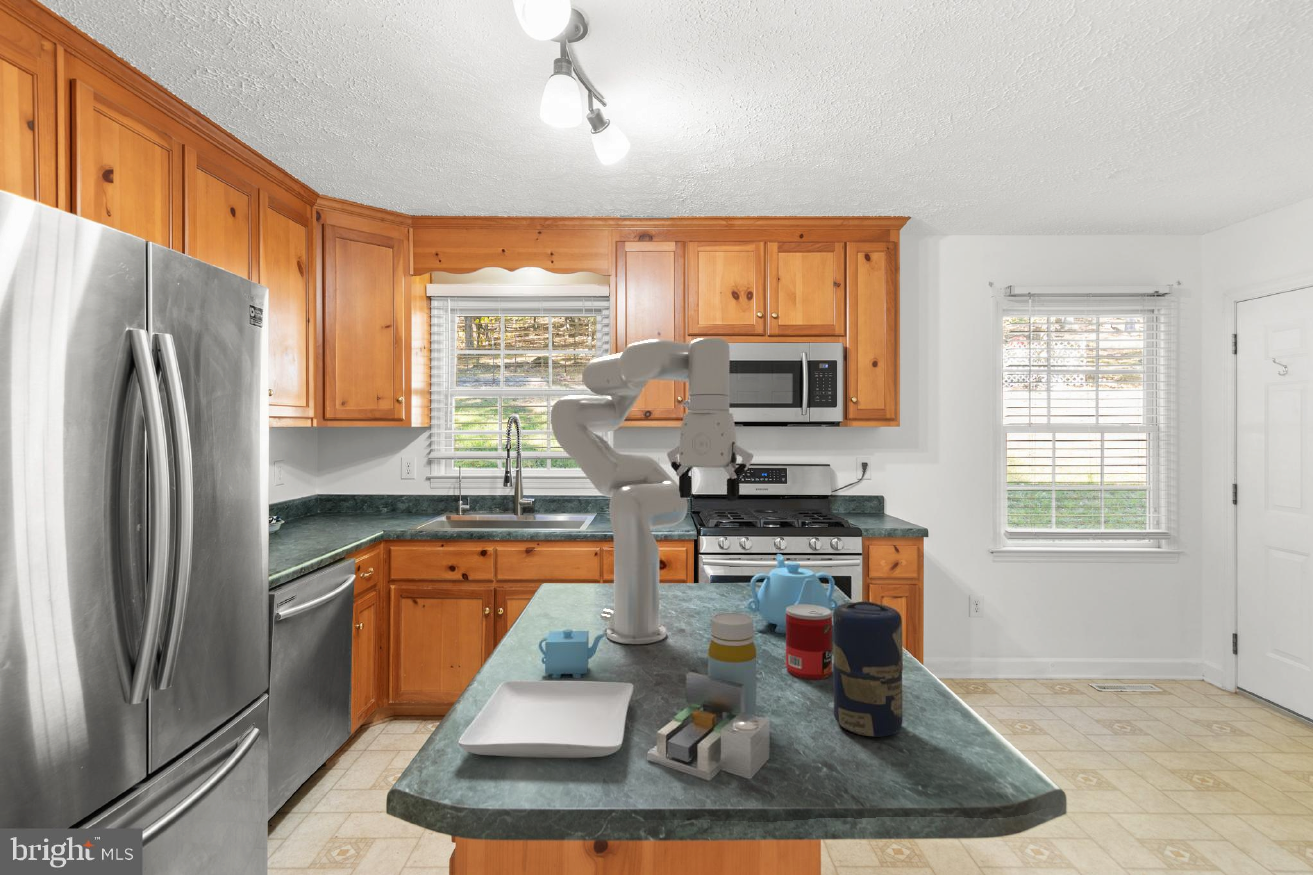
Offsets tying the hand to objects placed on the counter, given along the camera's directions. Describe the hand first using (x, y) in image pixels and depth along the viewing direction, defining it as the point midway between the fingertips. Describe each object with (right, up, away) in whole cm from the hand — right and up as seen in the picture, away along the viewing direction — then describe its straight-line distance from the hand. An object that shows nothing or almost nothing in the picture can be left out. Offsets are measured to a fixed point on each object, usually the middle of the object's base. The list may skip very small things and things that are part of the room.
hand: (708, 498), depth 114 cm
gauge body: (-2, -30, -34) cm, 45 cm away
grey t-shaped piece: (-4, -29, -32) cm, 44 cm away
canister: (+21, -31, -25) cm, 45 cm away
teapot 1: (-24, -31, -5) cm, 39 cm away
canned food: (+18, -31, -4) cm, 35 cm away
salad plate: (-24, -31, -26) cm, 47 cm away
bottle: (+2, -30, -23) cm, 38 cm away
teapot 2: (+21, -31, +23) cm, 43 cm away
